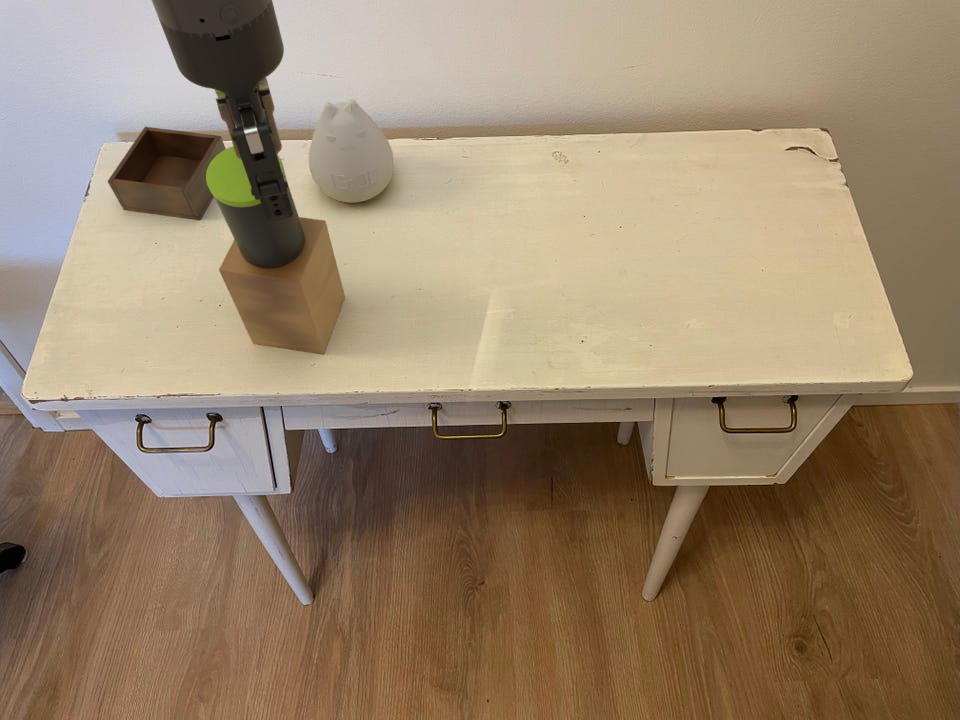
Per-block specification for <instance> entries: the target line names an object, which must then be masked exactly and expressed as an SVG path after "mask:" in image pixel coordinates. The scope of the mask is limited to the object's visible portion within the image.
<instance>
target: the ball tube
mask: <svg viewBox="0 0 960 720" xmlns="http://www.w3.org/2000/svg"><path fill="white" fill-rule="evenodd" d="M278 158H279V161H280V165H281V168H282V172H285V166H284V164H283V162H282V161H283V160H282V159H281V158H280V156H279V155H278ZM285 173H286V172H285ZM286 181H287V184H288V187H289V188H287V191H288V196H289V199H290V203H291V206H292V210H293V215H292V216H291V217H290V218H286V219H281V220H277V221H272V222H271V221H268V220H267V219H266V217H265V214H264V211H263V208H262V205H261V202H260V199H259V200H256V199H255V197H254V196H252V193H251V189H252V188H251V185H250V182H249V179H248V177H247V174H246V171H245V168H244V165H243V162H242V160H241V159H239V158H238V157H237V156H236V153H235V150H234V146H233V145H232V146H230V147H227V148H226V150H224V151H222V152H221V153H219V154H218V155H217V156H216V157H215V158H214V159H213V160H212V161H211V163H210V164H209V166H208V169H207V172H206V182H207V185H208V187H209V189H210V191H211V193H212V195H213V196H214V197H213V198H214V200H215V201H216V204H217V206H218V207H219V210H220V213H221V214H222V216H223V218H224V220H225V222H226V224H227V226H228V228H229V230H230V234H231V235H232V237H233V239H235V241H236V243H237V246H238V248H239V250H240V252H241V254H242V256H243V257H244V258H245V260H246V261H247V262H249V263H250V264H252V265H254V266H257V267H260V268H277V267H281V266H284V265H286V264H288V263H290V262H291V261H293V260H294V259H295V258H296V257H297V256H298V255H299V254H300V252H301V251H302V249H303V247H304V243H305V235H304V231H303V228H302V225H301V222H300V219H299V217H300V215H299V213H298V210H297V208H296V205H295V202H294V198H293V195H292V192H291V189H290V185H289V183H288V179H287V178H286V179H285V182H286Z"/></svg>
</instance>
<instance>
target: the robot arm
mask: <svg viewBox="0 0 960 720" xmlns="http://www.w3.org/2000/svg"><path fill="white" fill-rule="evenodd" d="M151 2H152V3H151V4H152V5H153V8H154V10H155V13H156V15H157V18H158V20H159V23H160V25H161V29H162V30H163V33H164V36H165V38H166V41H167V44H168V46H169V49H170V51H171V53H172V55H173V59H174V61H175V63H176V66H177V69H178V71H179V72H180V74H181V75H182V76H183V77H184V78H185V79H186V80H188V81H189V82H190V83H192V84H194V85H196V86H199V87H202V88H205V89H211V90H214V92H215V94H216V97H215V102H216V105H217V109H218V112H219V116H220V118H221V120H222V121H223V122H224V123H225V124H226V126H227V129H228V133H229V136H230V140H231V143H232V146H234V150H235V153H236V156H237V157H238V158H239V159H241V160H242V162H243V165H244V168H245V171H246V174H247V177H248V179H249V182H250V185H251V188H252V189H251V193H252V196H254V197H255V199H256V200H259V199H260V202H261V205H262V208H263V211H264V214H265V217H266V219H267V220H268V221H271V222H272V221H277V220H281V219H286V218H290V217H291V216H292V215H293V210H292V206H291V203H290V199H289V196H288V191H287V188H289V189H290V186H289V183H288V180H287V176H286V172H282V168H281V165H280V161H279V158H278V156H279V153H280V152H281V150H282V148H283V144H282V140H281V138H280V134H279V130H278V126H277V123H276V119H275V116H274V112H275V111H276V110H275V108H276V107H275V103H274V100H273V97H272V92H271V89H270V86H269V82H268V78H267V77H269V76H270V75H272V74H273V73H274V72H275V71H276V70H277V68H278V67H279V66H280V64H281V63H282V61H283V57H284V52H285V46H284V42H283V39H282V34H281V29H280V26H279V22H278V18H277V15H276V14H277V13H276V11H275V6H274V2H273V0H151ZM285 179H286V180H287V181H286V182H285ZM287 183H288V184H287ZM288 186H289V187H288Z"/></svg>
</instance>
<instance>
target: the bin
mask: <svg viewBox="0 0 960 720" xmlns="http://www.w3.org/2000/svg"><path fill="white" fill-rule="evenodd" d="M226 149H227V148H226V146H225V143H224V141H223V138H222V135H217V134H209V133H202V132H201V133H200V132H193V131H184V130H177V129H168V128H159V127H151V126H144V127H143V129H142V130H141V132H140V133H139V135H138V136H137V138H136V139H135V140H134V142H133V143H132V145H131V146H130V148H129V149H128V150H127V152H126V153H125V155H124V156H123V158H122V159H121V161H120V162H119V164H118V165H117V166H116V168H115V170H114V171H113V173H112V174H111V175H110V177H109V178H108V180H107V183H108V185H109V187H110V189H111V190H112V192H113V194H114V196H115V198H116V199H117V201H118V203H119V205H120V206H121V208H122V210H123V211H132V212H137V213H138V212H140V213H144V214H145V213H147V214H153V215H161V216H168V217H176V218H182V219H183V218H184V219H190V220H197V221H201V220H202V218H203V216H204V215H205V213H206V211H207V210H208V208H209V206H210V204H211V202H212V200H213V199H214V198H215V197H214V196H213V195H212V193H211V191H210V189H209V187H208V185H207V182H206V172H207V169H208V166H209V164H210V163H211V161H212V160H213V159H214V158H215V157H216V156H217V155H218V154H219V153H221V152H222V151H224V150H226Z"/></svg>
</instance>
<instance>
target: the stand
mask: <svg viewBox="0 0 960 720" xmlns="http://www.w3.org/2000/svg"><path fill="white" fill-rule="evenodd" d="M299 219H300V222H301V225H302V228H303V231H304V235H305V243H304V247H303V249H302V251H301V252H300V254H299V255H298V256H297V257H296V258H295V259H294V260H293V261H291V262H290V263H288V264H286V265H284V266H281V267H277V268H260V267H257V266H254V265H252V264H250V263H249V262H247V261H246V260H245V258H244V257H243V256H242V254H241V252H240V250H239V248H238V246H237V243H236V241H235V239H234V238H233V239H234V240H233V242H232V243H231V245H230V247H229V249H228V251H227V253H226V255H225V257H224V258H223V261H222V263H221V264H220V266H219V268H218V272H219V274H220V276H221V279H222V280H223V282H224V285H225V286H226V288H227V291H228V293H229V296H230V298H231V300H232V301H233V304H234V306H235V308H236V310H237V313H238V314H239V317H240V319H241V321H242V323H243V325H244V327H245V330H246V332H247V334H248V336H249V338H250V340H251V343H252V344H254V345H261V346H267V347H275V348H280V349H287V350H294V351H299V352H305V353H313V354H319V355H324V354H325V352H326V350H327V347H328V344H329V342H330V339H331V336H332V334H333V331H334V329H335V325H336V322H337V320H338V317H339V315H340V312H341V309H342V307H343V305H344V304H343V303H344V302H345V299H346V295H345V291H344V287H343V286H344V285H343V283H342V279H341V276H340V271H339V268H338V264H337V260H336V255H335V253H334V248H333V244H332V241H331V237H330V233H329V229H328V224H327V221H326V219H325V220H323V219H317V218H310V217H309V218H308V217H302V216H299Z"/></svg>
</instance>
